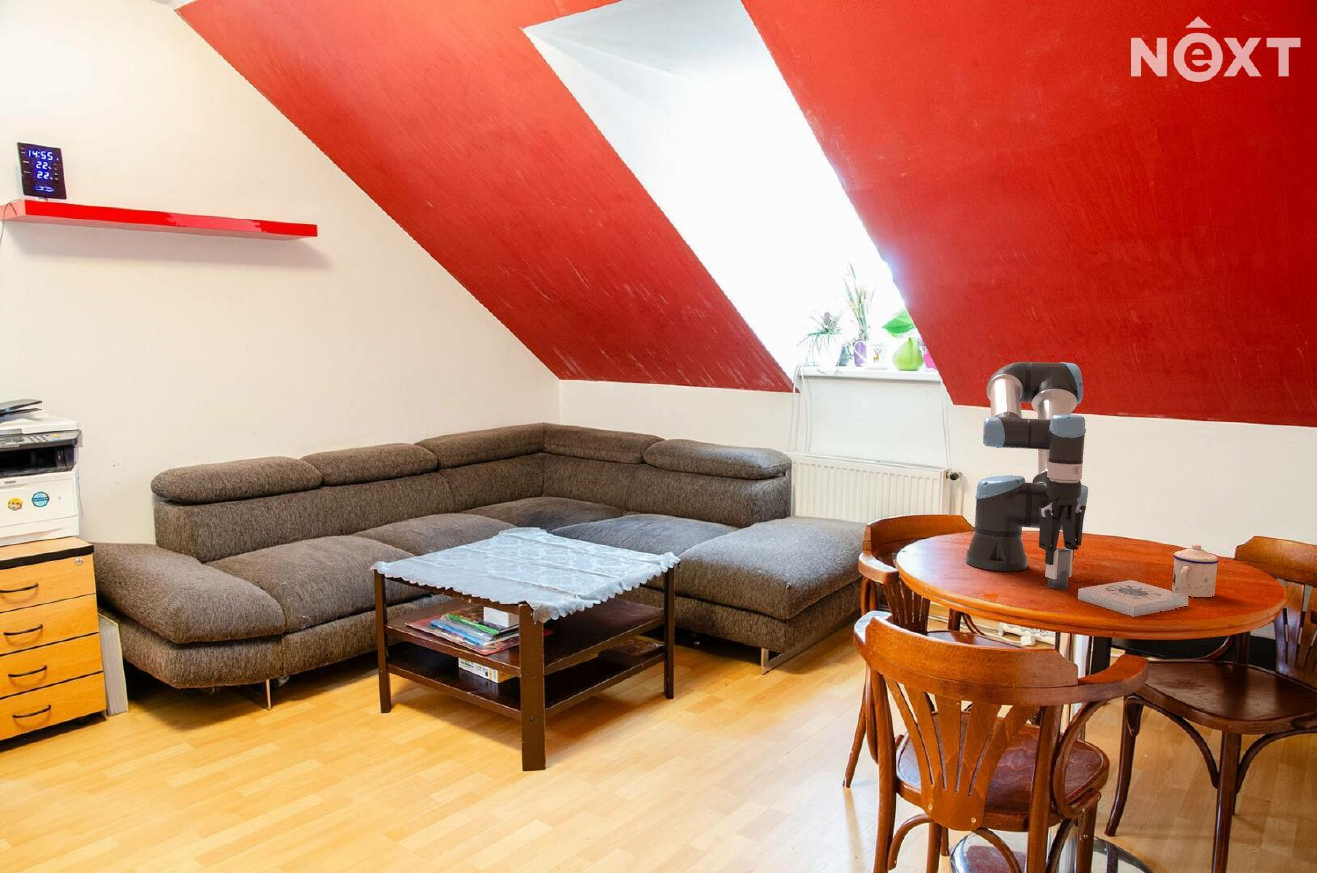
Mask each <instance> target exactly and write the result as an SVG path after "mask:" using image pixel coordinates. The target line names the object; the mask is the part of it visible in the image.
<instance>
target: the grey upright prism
mask: <svg viewBox="0 0 1317 873" xmlns="http://www.w3.org/2000/svg"><path fill="white" fill-rule="evenodd" d="M1061 548H1062V547H1061ZM1061 548H1058V547H1056V552H1058V568H1057V579H1052V578H1049V577H1047V587H1048V588H1049V589H1053V590H1061V591H1062V590H1063V591H1064V590H1065V591H1066V590H1068V588H1069V577H1068V575H1069V560H1070V551H1069V550H1066V549H1061Z"/></svg>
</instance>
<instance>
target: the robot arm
mask: <svg viewBox="0 0 1317 873" xmlns="http://www.w3.org/2000/svg"><path fill="white" fill-rule="evenodd" d="M986 396H987V398H988V400H989V401H990V416H989V417H986V418H984V419H983V430H982V431H983V433H982V438H983V439H982V442H983V443H982V444H983V445H984V446H985V447H988V448H989V447H991V448H997V449H1001V448H1002V449H1004V448H1005V449H1024V450H1025V449H1030V450H1037V451H1038V452H1037V453H1038V454H1037V455H1038V456H1037V458H1038V459H1037V460H1038V462H1037V464H1038V466H1037V467H1038V468H1037V470H1038V473H1037V474H1036V475H1035V476H1034V477H1033V479H1032V481H1031V482H1029V481H1028V482H1026V481H1027V480H1026V478H1025V477H1024V476H1022V475H1013V474H1012V475H1011V474H1010V475H996V476H989V477H985V478H982V479H980V480H979V481H978V483H977V485H976V494H975V515H974V529H973V530H974V533H973V536H972V539H971V541H970V544H969V547H968V549H967V551H966V552H965V557H966V558H965V563H966V564H968V565H969V564H970V565H969V566H972V567H975V568H977V569H983V570H989V571H996V572H997V571H998V572H1017V571H1018V572H1019V571H1023V570H1026V569H1027V568H1028V556H1027V555H1026V553H1025V552H1026V551H1025V546H1024V542H1023V536H1022V534H1023V532H1022V531H1023V528H1033V529H1039V536H1038V539H1039V540H1038V548H1039V549H1042V550H1045V554H1044V555H1045V557H1044V563H1045V576H1044V577H1045V578H1048V577H1049V578H1052V579H1057V568H1058V552H1056V548H1058V543H1059V542H1058V541H1059V537H1060V533H1061V531H1062V537H1063V546H1064V547H1061V549H1066V550H1069V551H1070V560H1069V575H1068V578H1071V577H1072V574H1073V562H1074V556H1075V555H1074V554H1075V551H1078V550H1079V548H1080V547H1081V545H1082V540H1083V530H1084V529H1083V528H1084V521H1085V520H1084V519H1085V515H1086V510H1087V504H1088V503H1087V502H1088V495H1089V487H1088V486H1087V485H1084V484H1082V482H1081V480H1083V478H1082V477H1083V462H1084V450H1085V448H1084V447H1085V436H1086V431H1087V428H1086V418H1085V417H1084V416H1082V415H1078V414H1072V412H1073V411H1074V410H1075V409H1076V408H1077V406H1078V405H1080V404H1081V402H1082V400H1083V396H1084V386H1083V376H1082V371H1081V369H1080V367H1079V366H1078V365H1077V364H1075V363H1073V362H1072V363H1071V362H1064V361H1060V362H1038V361H1037V362H1036V361H1034V362H1033V361H1032V362H1031V361H1017V362H1012V363H1008V364H1006V365H1004V366H1002V367H1000V368H999V369H998V370H996V371H995V372H994V373H993V374H992V375H991V376H990V378H989V379H988V381H987V384H986ZM1021 403H1023V404H1025V403H1027V404H1031V407H1032V409H1033V411H1035V413H1037V418H1023V414H1022V404H1021Z"/></svg>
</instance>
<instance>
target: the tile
mask: <svg viewBox="0 0 1317 873" xmlns="http://www.w3.org/2000/svg"><path fill="white" fill-rule="evenodd" d="M1077 599H1078V600H1079V601H1082V602H1086V603H1089V604H1092V605H1096V606H1099V607H1102V608H1104V609H1107V610H1110V611H1115V612H1116V613H1121V614H1124V615H1126V616H1129V615H1130V617H1141V616H1144V615H1151V614H1156V613H1161V612H1160V611H1162V612H1167V611H1171V610H1176V609H1175V608H1177V609H1179V608H1178V607H1182V606H1188V604H1189V597H1188V595H1184V594H1181V593H1177V592H1174V591H1173V590H1169V589H1165V588H1162V587H1158V586H1154V585H1152V584H1147V583H1143V582H1139V581H1137V580H1133V579H1130V580H1123V581H1116V582H1110V583H1105V584H1098V585H1094V586H1093V585H1092V586H1087V587H1081V588H1078V593H1077ZM1188 607H1189V606H1188Z"/></svg>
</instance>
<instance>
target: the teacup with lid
mask: <svg viewBox="0 0 1317 873" xmlns="http://www.w3.org/2000/svg"><path fill="white" fill-rule="evenodd" d="M1173 558H1174V560H1173V561H1174V562H1173V573H1172V584H1171V585H1172V586H1171V591H1173V592H1177V593H1181V594H1184V595H1188V596H1191V597H1190V598H1194V597H1211V598H1213V597H1214V596H1215V594H1216V583H1217V582H1216V581H1217V569H1218V568H1217V567H1218V563H1219V558H1218V556H1216V555H1215V554H1212V553H1209V551H1207V550H1205V549H1202V545H1201V544H1197V543H1193V544H1192V545H1191V547H1190V548H1189V547H1188V548H1186V549H1183V550H1177V551H1175V552H1174V553H1173ZM1212 596H1213V597H1212Z"/></svg>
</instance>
